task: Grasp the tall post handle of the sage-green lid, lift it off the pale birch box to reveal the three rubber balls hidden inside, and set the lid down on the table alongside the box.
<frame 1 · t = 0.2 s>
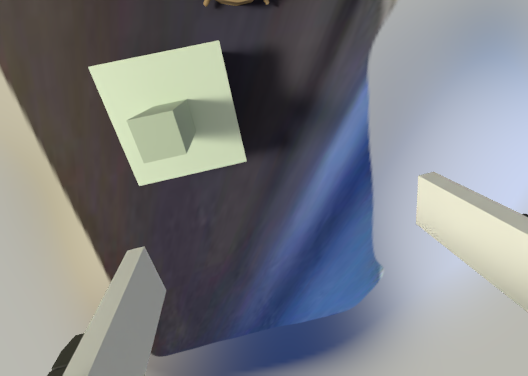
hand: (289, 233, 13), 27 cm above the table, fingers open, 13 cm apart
lid: (177, 117, 30), point 6 cm above the table, touching box
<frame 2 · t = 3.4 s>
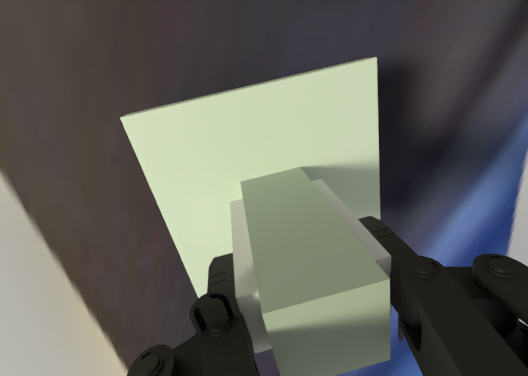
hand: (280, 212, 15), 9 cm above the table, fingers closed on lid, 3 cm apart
lid: (272, 192, 17), point 6 cm above the table, touching box, gripper
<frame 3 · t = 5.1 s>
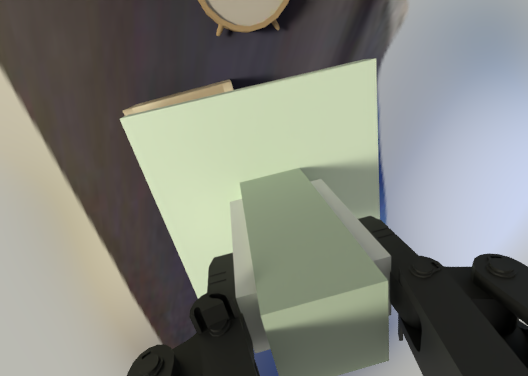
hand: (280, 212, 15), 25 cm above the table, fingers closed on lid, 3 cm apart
lid: (271, 193, 17), point 22 cm above the table, touching gripper
box: (200, 136, 37), on the table
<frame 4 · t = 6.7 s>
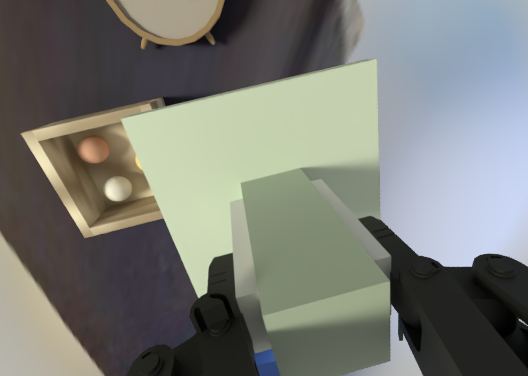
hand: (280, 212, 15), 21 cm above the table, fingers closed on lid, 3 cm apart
ball terracotta: (99, 146, 31), point 1 cm above the table, touching box
lid: (272, 193, 17), point 18 cm above the table, touching gripper
box: (132, 158, 33), on the table
ball cream: (122, 183, 33), point 1 cm above the table, touching box
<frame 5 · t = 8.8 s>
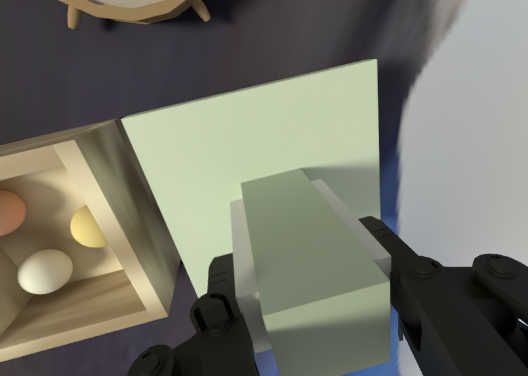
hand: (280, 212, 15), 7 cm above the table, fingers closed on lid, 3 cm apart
ball terracotta: (10, 201, 18), point 1 cm above the table, touching box
lid: (272, 193, 17), point 4 cm above the table, touching gripper
box: (74, 216, 20), on the table
ball mustard: (106, 213, 19), point 1 cm above the table, touching box
ball cream: (58, 257, 20), point 1 cm above the table, touching box
when the fingers open (4 cm above the table, at t = 10.1 s): lid drops 2 cm, on the table.
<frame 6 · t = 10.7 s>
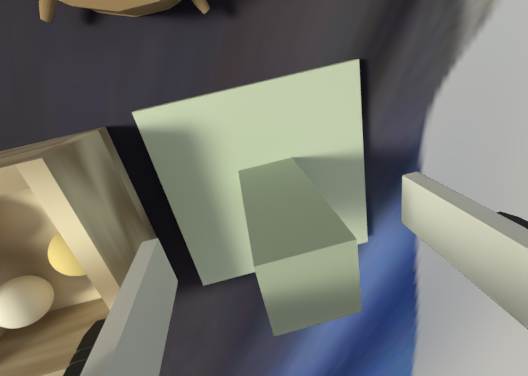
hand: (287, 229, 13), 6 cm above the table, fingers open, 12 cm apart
lid: (267, 181, 19), on the table
box: (56, 236, 18), on the table
ball mustard: (92, 234, 17), point 1 cm above the table, touching box
ball cream: (38, 283, 18), point 1 cm above the table, touching box
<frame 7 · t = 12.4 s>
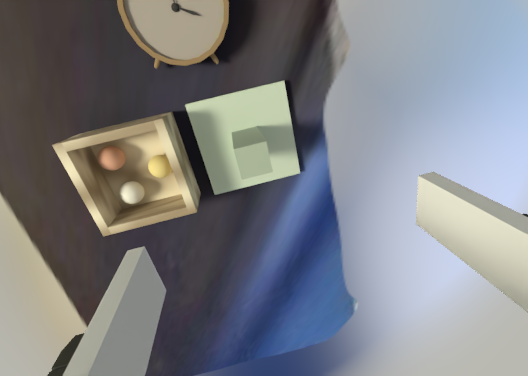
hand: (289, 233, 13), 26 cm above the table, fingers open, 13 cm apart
ball terracotta: (116, 155, 35), point 1 cm above the table, touching box
lid: (246, 139, 38), on the table
box: (144, 165, 37), on the table
ball mustard: (163, 162, 36), point 1 cm above the table, touching box
ball cream: (135, 188, 37), point 1 cm above the table, touching box
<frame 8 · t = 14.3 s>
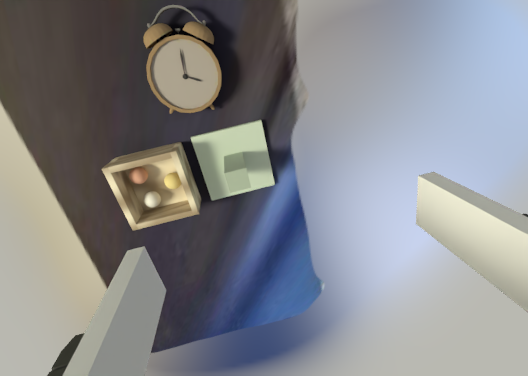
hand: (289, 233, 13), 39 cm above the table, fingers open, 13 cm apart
ball terracotta: (140, 172, 48), point 1 cm above the table, touching box
lid: (235, 160, 52), on the table
box: (160, 179, 50), on the table
alarm clock: (185, 63, 44), on the table
ball mustard: (174, 177, 50), point 1 cm above the table, touching box
ball cream: (154, 195, 51), point 1 cm above the table, touching box
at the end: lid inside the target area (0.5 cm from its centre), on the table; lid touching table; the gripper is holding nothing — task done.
